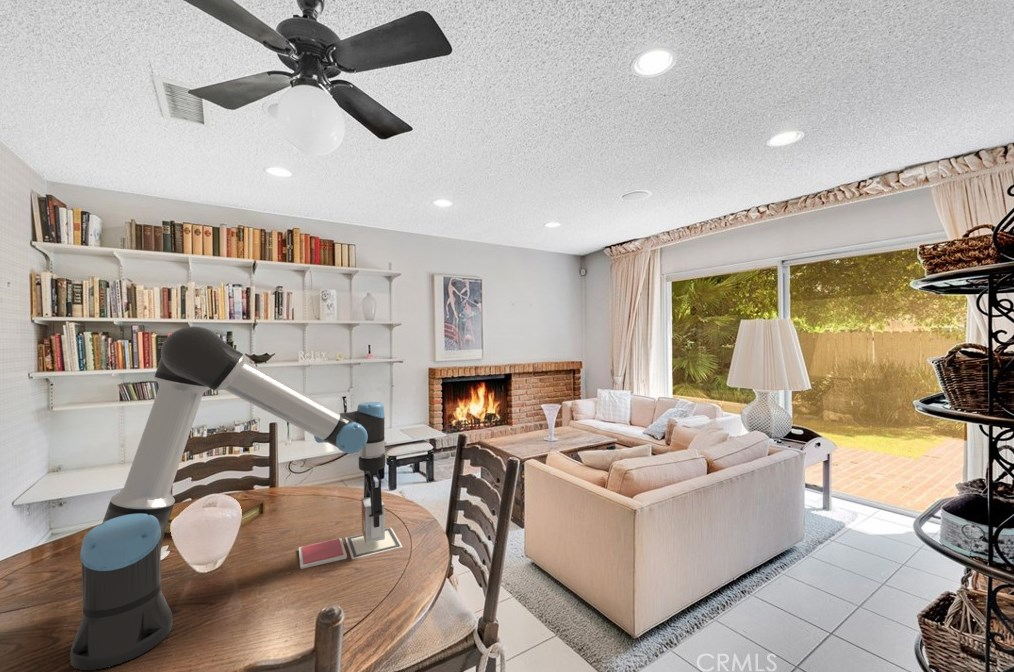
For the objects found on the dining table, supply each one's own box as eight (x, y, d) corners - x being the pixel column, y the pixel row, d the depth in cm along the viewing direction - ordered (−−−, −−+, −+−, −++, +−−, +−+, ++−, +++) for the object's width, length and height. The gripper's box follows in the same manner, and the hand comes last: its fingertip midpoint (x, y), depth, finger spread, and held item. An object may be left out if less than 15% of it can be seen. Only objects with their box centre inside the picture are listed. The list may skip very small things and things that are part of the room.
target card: (402, 547, 125) (402, 545, 125) (352, 560, 118) (352, 558, 118) (391, 528, 137) (391, 526, 137) (345, 539, 130) (345, 537, 130)
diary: (265, 515, 149) (264, 499, 149) (219, 541, 131) (219, 523, 131) (208, 511, 153) (208, 495, 153) (157, 536, 135) (156, 517, 135)
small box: (361, 532, 130) (361, 497, 130) (380, 528, 132) (380, 494, 132) (365, 544, 123) (364, 507, 123) (385, 539, 125) (384, 503, 125)
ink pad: (346, 559, 119) (346, 554, 119) (300, 571, 113) (300, 565, 113) (341, 541, 129) (341, 536, 129) (298, 551, 123) (298, 546, 123)
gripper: (392, 462, 120) (394, 542, 120) (377, 445, 138) (378, 515, 139) (364, 466, 116) (366, 549, 117) (353, 448, 135) (354, 520, 135)
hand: (373, 530), depth 128 cm, fingers closed on small box, 8 cm apart
